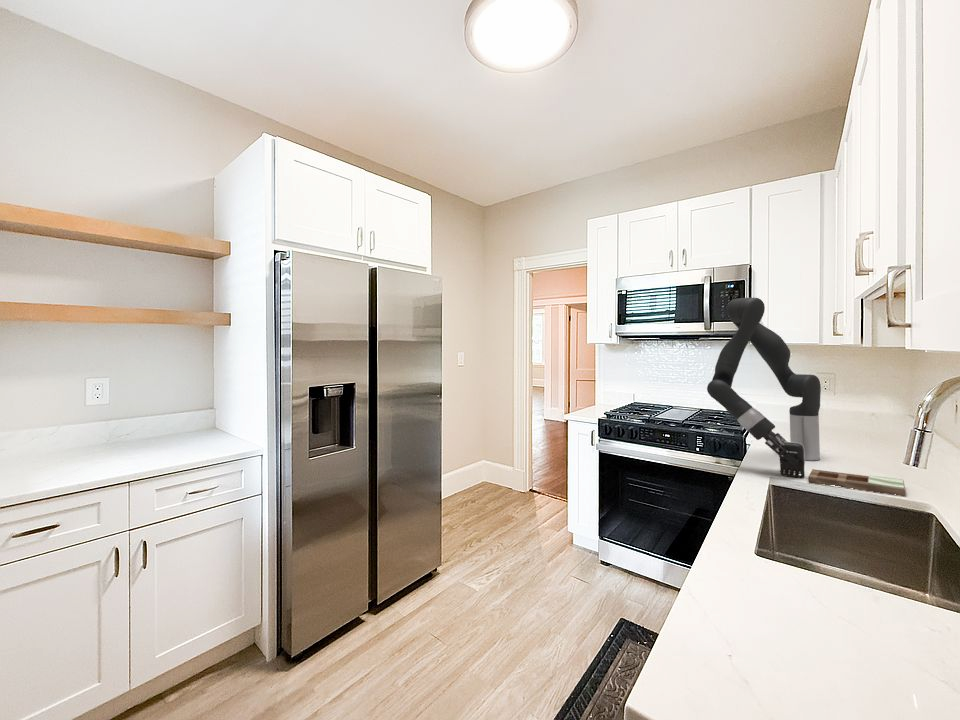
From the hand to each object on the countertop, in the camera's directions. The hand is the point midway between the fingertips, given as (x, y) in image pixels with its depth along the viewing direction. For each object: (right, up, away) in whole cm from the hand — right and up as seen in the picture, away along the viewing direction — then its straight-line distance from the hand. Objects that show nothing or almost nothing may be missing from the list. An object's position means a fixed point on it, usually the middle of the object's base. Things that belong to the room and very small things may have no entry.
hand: (797, 461), depth 143 cm
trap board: (+11, -5, -10) cm, 15 cm away
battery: (-1, -6, +1) cm, 6 cm away
